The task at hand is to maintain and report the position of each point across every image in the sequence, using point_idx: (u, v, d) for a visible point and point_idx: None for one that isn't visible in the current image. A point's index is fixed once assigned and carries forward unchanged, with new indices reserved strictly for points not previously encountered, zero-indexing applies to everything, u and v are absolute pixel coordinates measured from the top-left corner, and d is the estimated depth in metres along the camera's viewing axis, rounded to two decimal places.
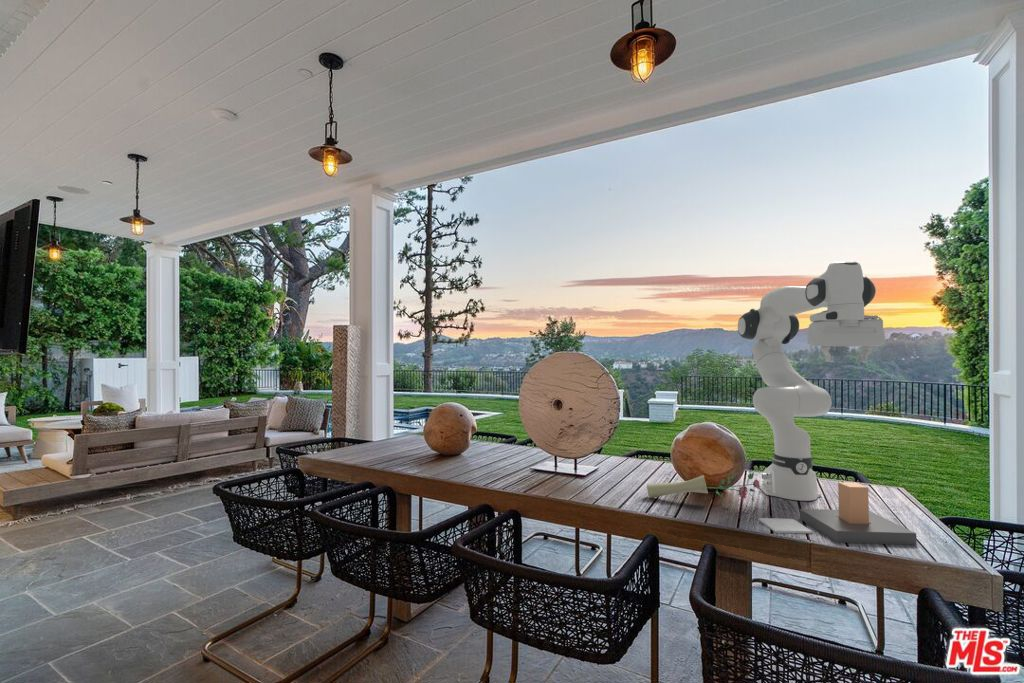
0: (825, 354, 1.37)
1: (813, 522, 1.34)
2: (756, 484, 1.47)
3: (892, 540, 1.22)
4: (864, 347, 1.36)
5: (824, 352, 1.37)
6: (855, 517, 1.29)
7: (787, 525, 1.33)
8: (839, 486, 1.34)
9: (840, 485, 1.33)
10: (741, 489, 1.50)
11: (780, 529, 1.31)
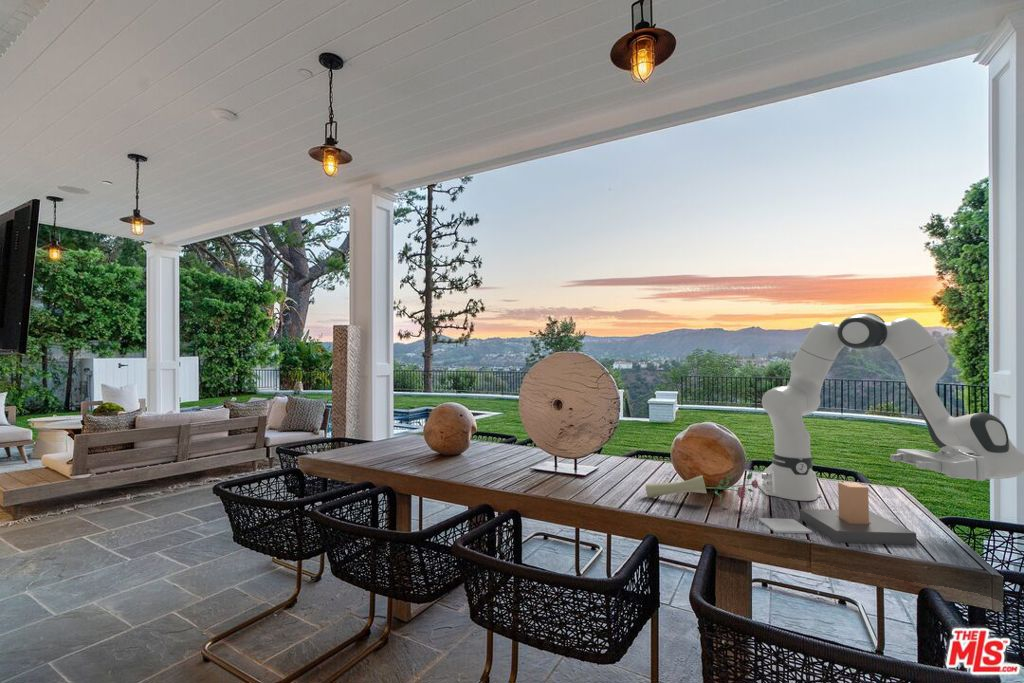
0: (929, 466, 1.25)
1: (813, 522, 1.34)
2: (755, 484, 1.47)
3: (892, 540, 1.22)
4: (905, 457, 1.36)
5: (932, 466, 1.25)
6: (855, 517, 1.29)
7: (787, 525, 1.33)
8: (839, 486, 1.34)
9: (840, 485, 1.33)
10: (740, 489, 1.50)
11: (780, 529, 1.31)
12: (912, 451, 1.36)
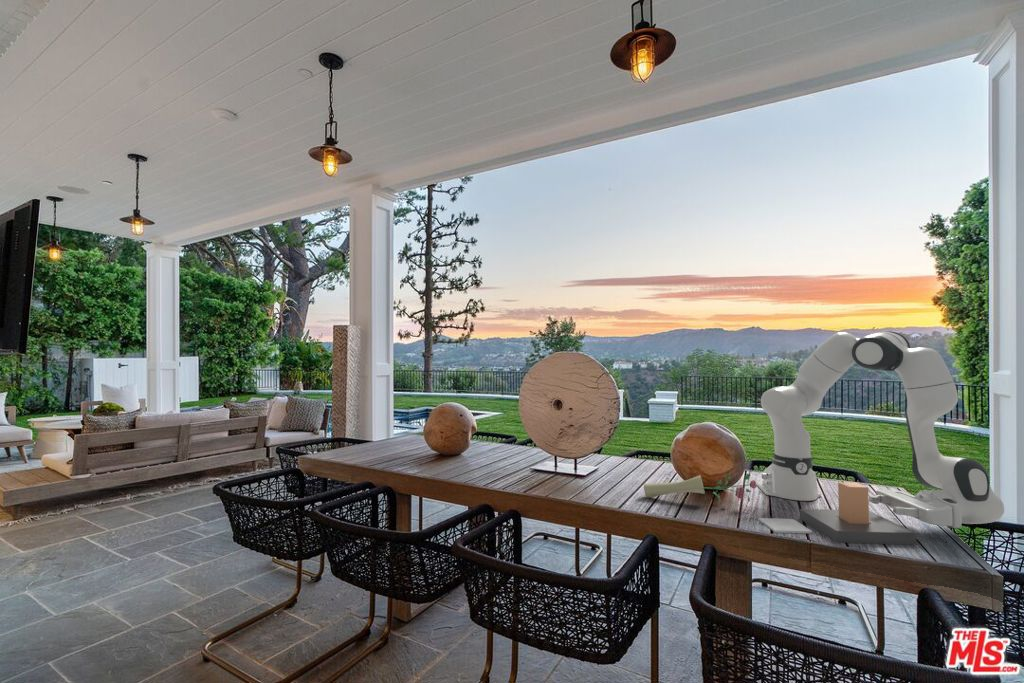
0: (906, 512, 1.25)
1: (813, 522, 1.34)
2: (752, 485, 1.46)
3: (892, 540, 1.22)
4: (884, 499, 1.36)
5: (909, 512, 1.25)
6: (855, 517, 1.29)
7: (787, 525, 1.33)
8: (839, 486, 1.34)
9: (840, 485, 1.33)
10: (738, 489, 1.50)
11: (780, 529, 1.31)
12: (891, 493, 1.36)
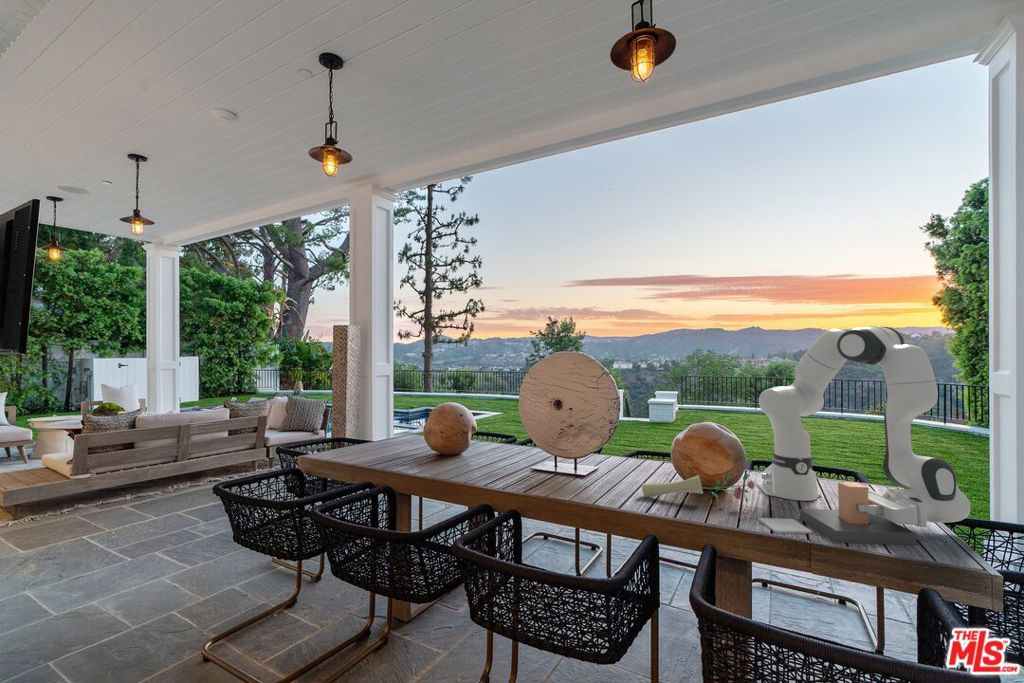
0: (868, 509, 1.27)
1: (813, 522, 1.34)
2: (750, 485, 1.46)
3: (892, 540, 1.22)
4: None
5: (871, 509, 1.27)
6: (855, 517, 1.29)
7: (787, 525, 1.33)
8: (839, 486, 1.34)
9: (840, 485, 1.33)
10: (736, 490, 1.49)
11: (780, 529, 1.31)
12: None
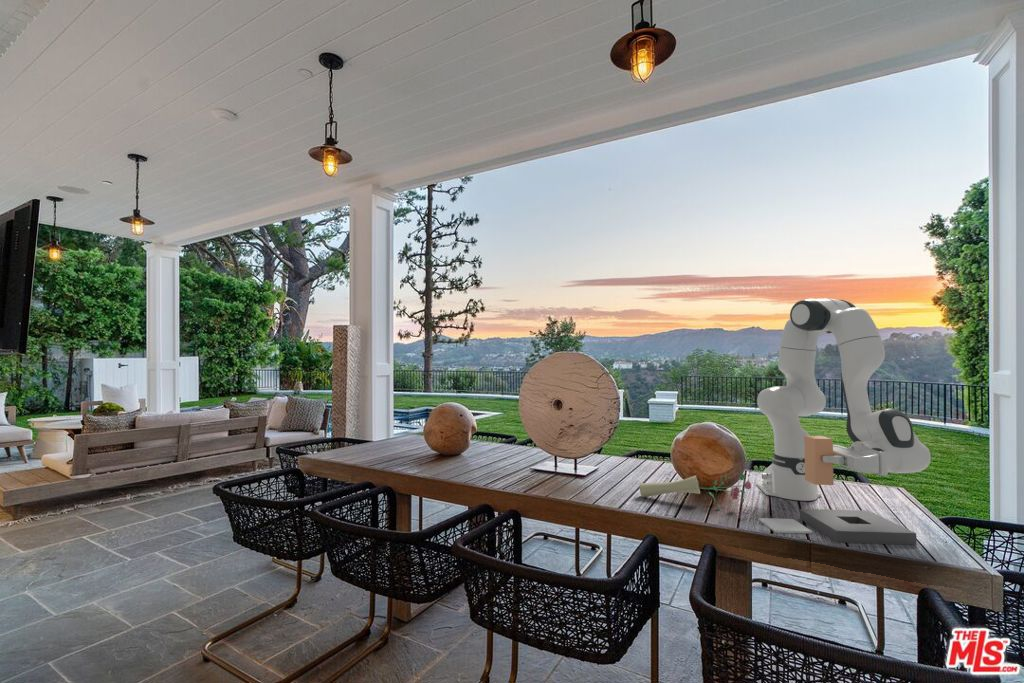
0: (832, 459, 1.29)
1: (813, 522, 1.34)
2: (747, 485, 1.45)
3: (892, 540, 1.22)
4: None
5: (835, 460, 1.29)
6: (820, 468, 1.31)
7: (787, 525, 1.33)
8: (805, 440, 1.36)
9: (806, 438, 1.35)
10: (733, 490, 1.49)
11: (780, 529, 1.31)
12: None
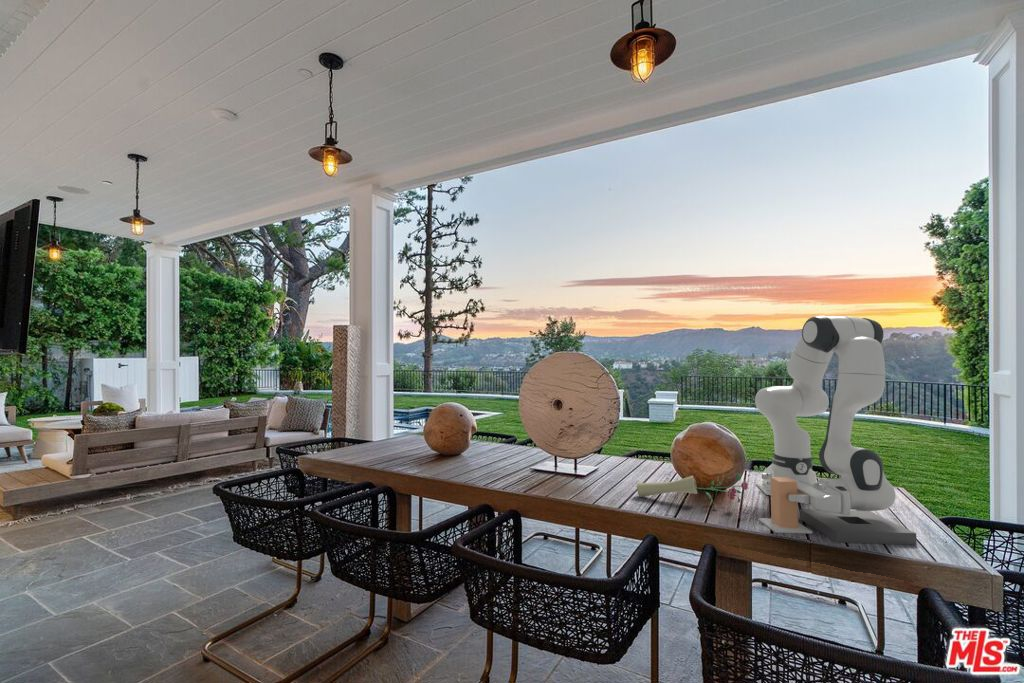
0: (798, 498, 1.30)
1: (813, 522, 1.34)
2: (744, 486, 1.45)
3: (892, 540, 1.22)
4: None
5: (801, 499, 1.29)
6: (784, 511, 1.32)
7: None
8: (771, 481, 1.37)
9: (772, 480, 1.37)
10: (729, 490, 1.49)
11: (780, 529, 1.31)
12: None
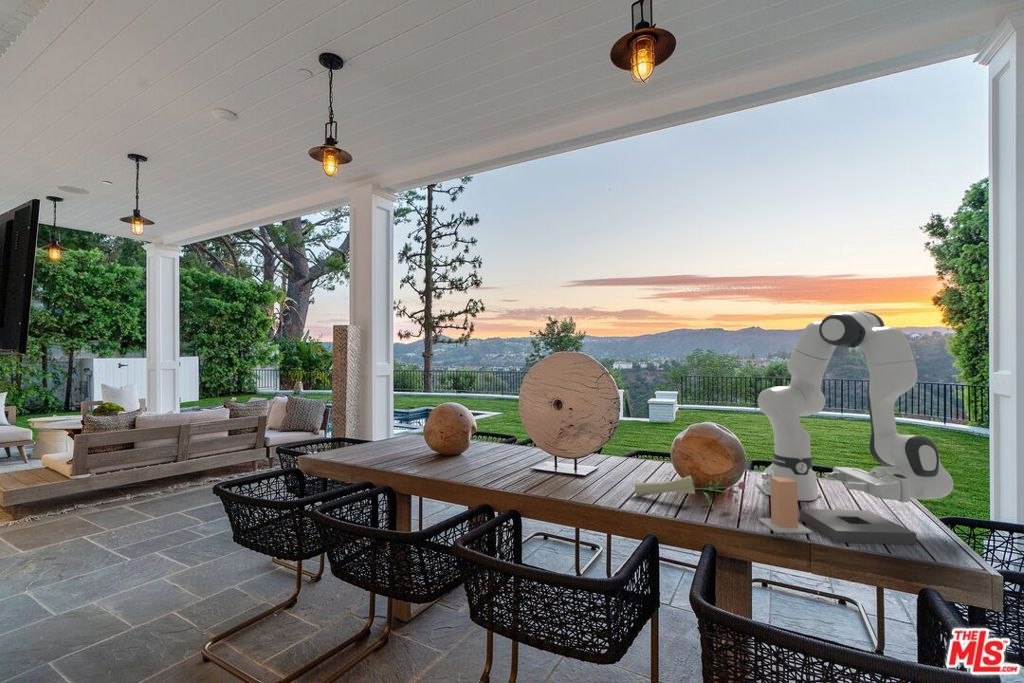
0: (857, 486, 1.29)
1: (813, 522, 1.34)
2: (741, 486, 1.45)
3: (892, 540, 1.22)
4: (839, 476, 1.40)
5: (860, 487, 1.28)
6: (784, 511, 1.32)
7: None
8: (771, 481, 1.37)
9: (772, 480, 1.37)
10: (727, 491, 1.48)
11: (780, 529, 1.31)
12: (846, 470, 1.40)
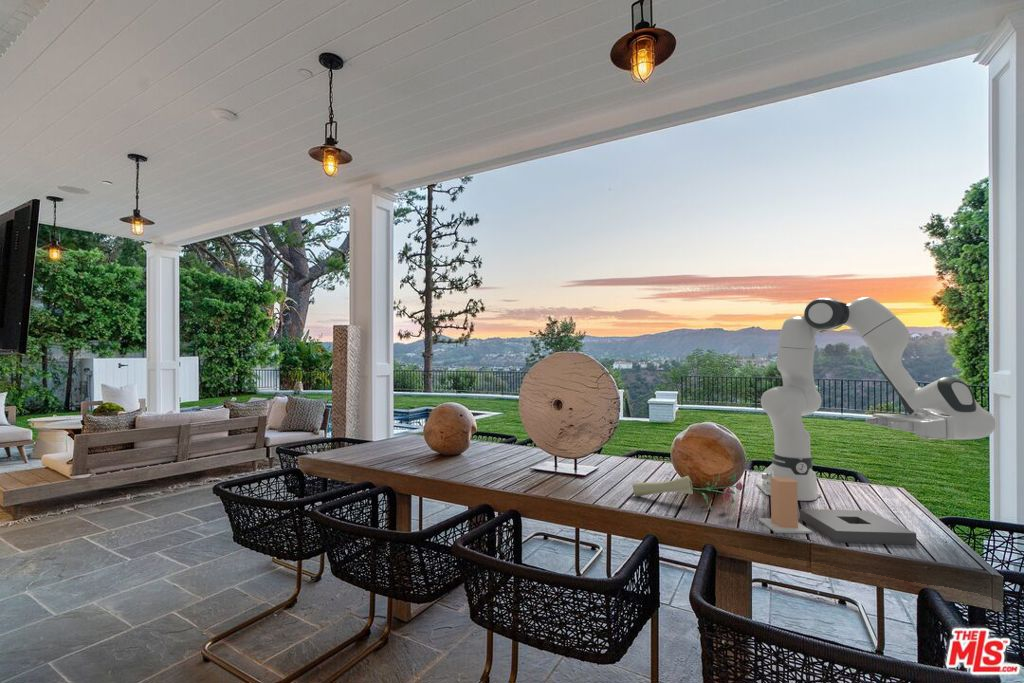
0: (901, 426, 1.30)
1: (813, 522, 1.34)
2: (738, 486, 1.44)
3: (892, 540, 1.22)
4: (880, 421, 1.41)
5: (904, 426, 1.29)
6: (784, 511, 1.32)
7: None
8: (771, 481, 1.37)
9: (772, 480, 1.37)
10: (724, 491, 1.48)
11: (780, 529, 1.31)
12: (887, 415, 1.41)
